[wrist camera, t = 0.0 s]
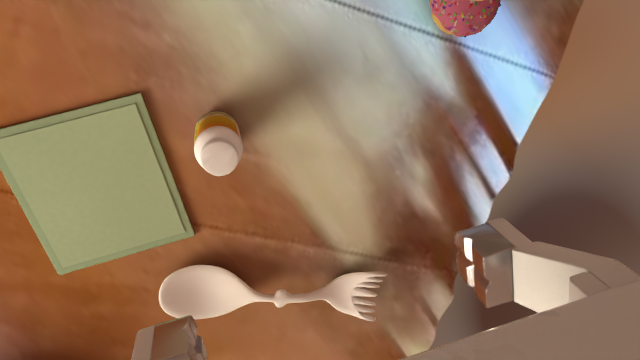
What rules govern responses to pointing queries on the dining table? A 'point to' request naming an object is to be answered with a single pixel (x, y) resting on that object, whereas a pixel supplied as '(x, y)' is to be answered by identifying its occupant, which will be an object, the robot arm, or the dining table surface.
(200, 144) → the supplement bottle
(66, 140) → the placemat
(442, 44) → the dining table surface
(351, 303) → the white spork utensil
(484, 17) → the cupcake
